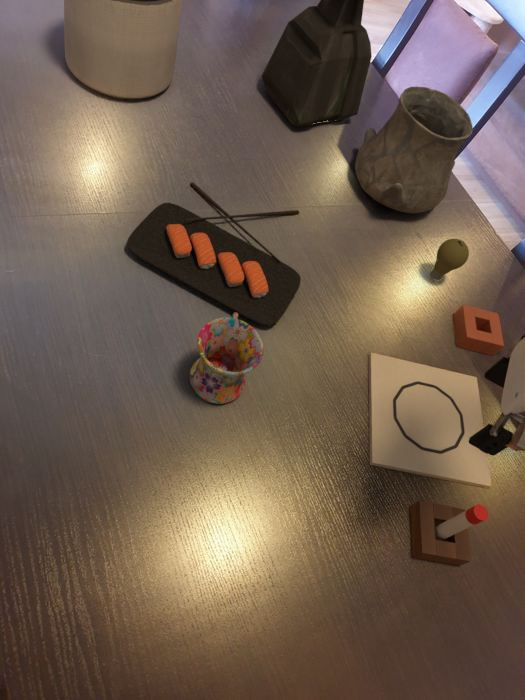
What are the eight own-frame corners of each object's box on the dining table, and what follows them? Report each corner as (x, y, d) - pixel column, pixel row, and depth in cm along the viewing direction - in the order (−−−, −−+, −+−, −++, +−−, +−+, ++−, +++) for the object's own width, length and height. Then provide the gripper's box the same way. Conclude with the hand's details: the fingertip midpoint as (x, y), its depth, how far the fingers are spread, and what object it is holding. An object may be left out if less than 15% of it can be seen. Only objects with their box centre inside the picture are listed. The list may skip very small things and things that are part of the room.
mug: (241, 415, 84) (258, 381, 76) (180, 400, 83) (191, 364, 74) (252, 349, 91) (269, 311, 83) (196, 334, 90) (208, 295, 81)
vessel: (392, 145, 131) (435, 65, 115) (453, 211, 124) (509, 136, 108) (321, 162, 121) (358, 77, 105) (383, 236, 114) (433, 157, 97)
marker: (440, 529, 83) (487, 505, 73) (441, 544, 82) (489, 521, 72) (427, 527, 83) (472, 502, 73) (428, 541, 82) (474, 519, 72)
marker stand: (454, 514, 85) (465, 509, 82) (459, 566, 81) (471, 561, 78) (409, 506, 84) (419, 500, 81) (412, 557, 80) (422, 553, 77)
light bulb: (415, 273, 110) (441, 239, 102) (431, 262, 113) (457, 228, 105) (436, 293, 109) (464, 259, 101) (451, 281, 112) (480, 247, 104)
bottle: (317, 80, 137) (367, -56, 113) (354, 124, 132) (416, -9, 107) (255, 88, 129) (295, -57, 105) (292, 136, 123) (344, -6, 99)
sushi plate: (118, 253, 94) (119, 237, 91) (203, 161, 112) (207, 145, 109) (270, 337, 93) (276, 324, 90) (332, 231, 111) (340, 217, 108)
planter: (185, 63, 127) (200, -32, 111) (153, 118, 115) (164, 19, 98) (90, 26, 125) (91, -76, 109) (46, 78, 113) (40, -29, 96)
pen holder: (487, 323, 108) (498, 313, 105) (492, 355, 104) (504, 346, 101) (452, 315, 107) (462, 304, 104) (456, 347, 103) (467, 336, 100)
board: (473, 379, 100) (477, 376, 99) (487, 488, 89) (492, 486, 88) (368, 355, 97) (371, 351, 96) (369, 464, 86) (372, 462, 85)
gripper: (633, 427, 46) (505, 493, 60) (638, 289, 56) (527, 373, 70) (551, 383, 46) (442, 459, 60) (570, 253, 56) (473, 344, 70)
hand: (488, 413), depth 65 cm, fingers open, 9 cm apart
